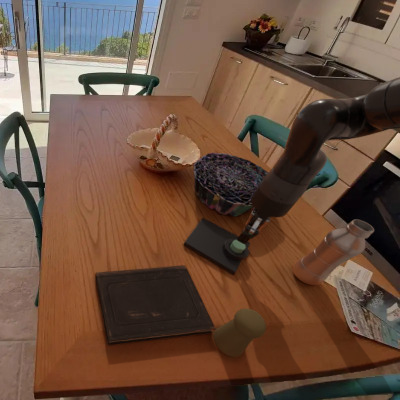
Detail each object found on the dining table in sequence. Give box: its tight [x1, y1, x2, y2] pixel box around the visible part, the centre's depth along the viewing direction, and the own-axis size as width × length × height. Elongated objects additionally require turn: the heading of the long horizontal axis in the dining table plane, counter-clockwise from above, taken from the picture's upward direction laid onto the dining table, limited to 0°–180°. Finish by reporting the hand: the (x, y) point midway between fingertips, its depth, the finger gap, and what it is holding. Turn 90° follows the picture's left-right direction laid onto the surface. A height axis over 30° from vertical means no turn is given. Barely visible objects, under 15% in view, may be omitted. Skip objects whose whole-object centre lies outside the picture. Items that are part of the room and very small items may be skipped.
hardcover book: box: [94, 265, 217, 346], centre depth 61 cm, size 16×23×2 cm
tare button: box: [230, 240, 246, 253], centre depth 71 cm, size 3×3×2 cm
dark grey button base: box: [182, 217, 251, 276], centre depth 75 cm, size 15×13×3 cm
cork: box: [213, 308, 267, 358], centre depth 53 cm, size 6×6×11 cm
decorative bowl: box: [192, 152, 269, 217], centre depth 89 cm, size 26×28×10 cm
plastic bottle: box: [292, 218, 375, 286], centre depth 63 cm, size 6×7×20 cm
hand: (241, 240), depth 70 cm, fingers closed
